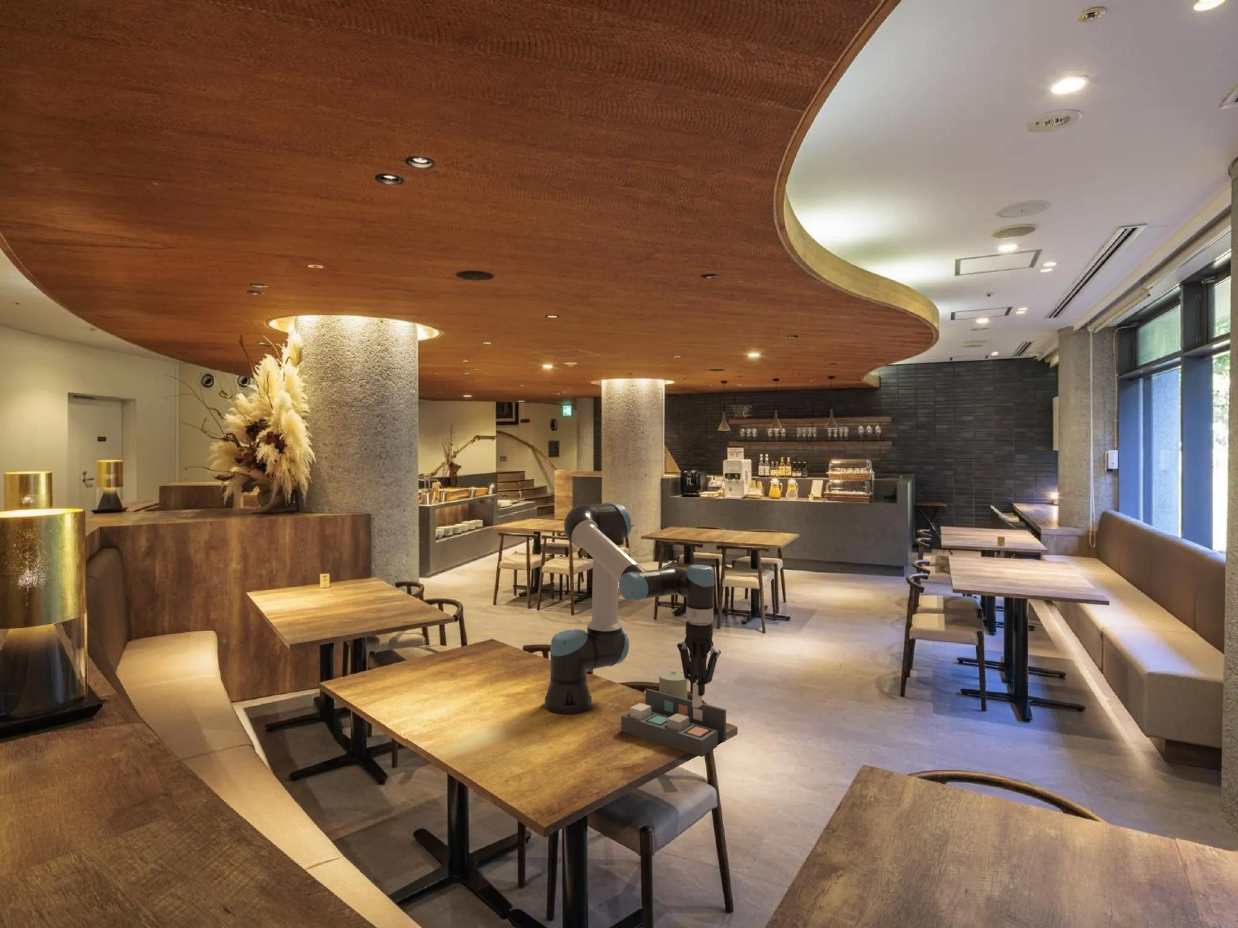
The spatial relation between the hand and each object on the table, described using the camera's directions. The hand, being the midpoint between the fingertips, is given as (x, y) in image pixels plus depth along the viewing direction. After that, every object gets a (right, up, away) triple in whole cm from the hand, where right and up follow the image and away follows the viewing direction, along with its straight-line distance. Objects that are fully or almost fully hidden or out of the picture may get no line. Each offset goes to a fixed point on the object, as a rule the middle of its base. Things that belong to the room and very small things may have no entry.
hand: (697, 705), depth 190 cm
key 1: (-15, -8, +12) cm, 21 cm away
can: (-5, -11, +26) cm, 29 cm away
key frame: (-8, -11, +6) cm, 15 cm away
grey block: (-5, -9, +4) cm, 11 cm away
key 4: (0, -11, 0) cm, 11 cm away
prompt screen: (-2, -11, +13) cm, 17 cm away
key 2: (-10, -11, +8) cm, 17 cm away
